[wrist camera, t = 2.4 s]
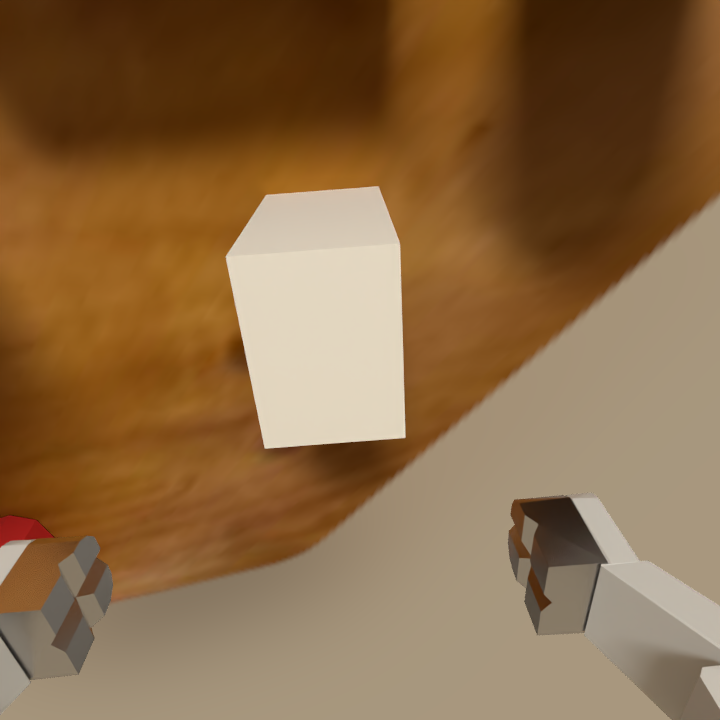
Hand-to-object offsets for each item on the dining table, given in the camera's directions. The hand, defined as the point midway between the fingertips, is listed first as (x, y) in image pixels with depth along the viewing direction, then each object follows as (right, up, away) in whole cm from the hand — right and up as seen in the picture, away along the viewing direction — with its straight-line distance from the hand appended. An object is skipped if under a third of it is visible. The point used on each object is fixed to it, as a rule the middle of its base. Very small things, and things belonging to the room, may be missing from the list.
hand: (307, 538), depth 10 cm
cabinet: (0, +8, +14) cm, 16 cm away
